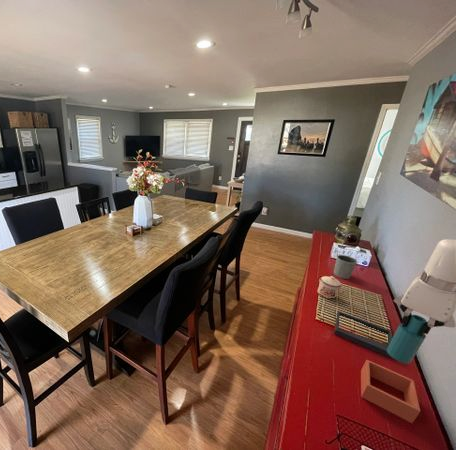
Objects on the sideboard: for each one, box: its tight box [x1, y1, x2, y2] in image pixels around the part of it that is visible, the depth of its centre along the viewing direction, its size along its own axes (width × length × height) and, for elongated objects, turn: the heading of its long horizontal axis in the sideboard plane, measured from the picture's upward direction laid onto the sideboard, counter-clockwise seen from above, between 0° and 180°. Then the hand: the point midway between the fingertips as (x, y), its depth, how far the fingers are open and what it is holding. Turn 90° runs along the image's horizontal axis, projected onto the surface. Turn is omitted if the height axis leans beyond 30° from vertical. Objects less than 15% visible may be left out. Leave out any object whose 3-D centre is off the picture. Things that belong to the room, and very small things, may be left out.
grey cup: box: [333, 254, 358, 280], centre depth 151 cm, size 10×10×12 cm
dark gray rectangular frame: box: [333, 310, 394, 359], centre depth 107 cm, size 20×16×3 cm
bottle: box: [387, 314, 428, 365], centre depth 77 cm, size 6×6×16 cm
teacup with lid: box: [316, 275, 347, 299], centre depth 131 cm, size 12×9×12 cm
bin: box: [360, 359, 421, 424], centre depth 82 cm, size 13×13×6 cm
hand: (413, 328), depth 76 cm, fingers closed on bottle, 3 cm apart
